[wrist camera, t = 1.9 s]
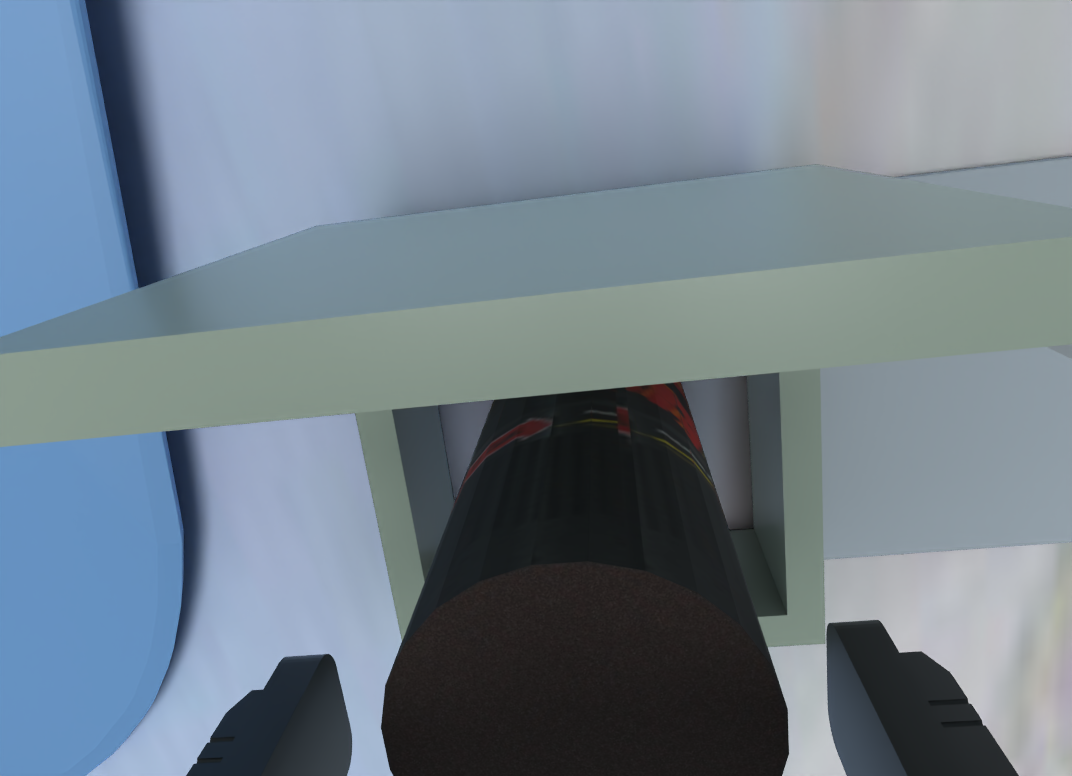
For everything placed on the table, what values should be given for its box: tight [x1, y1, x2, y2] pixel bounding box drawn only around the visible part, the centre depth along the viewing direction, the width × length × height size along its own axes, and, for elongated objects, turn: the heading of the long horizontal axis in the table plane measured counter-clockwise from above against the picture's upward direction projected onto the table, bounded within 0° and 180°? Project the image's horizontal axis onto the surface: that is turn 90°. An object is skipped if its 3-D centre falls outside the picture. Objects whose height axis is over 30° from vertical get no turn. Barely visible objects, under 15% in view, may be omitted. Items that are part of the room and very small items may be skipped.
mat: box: [820, 156, 1072, 560], centre depth 24 cm, size 12×12×1 cm
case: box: [0, 164, 1072, 647], centre depth 18 cm, size 13×13×17 cm
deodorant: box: [381, 382, 789, 776], centre depth 19 cm, size 6×6×15 cm
